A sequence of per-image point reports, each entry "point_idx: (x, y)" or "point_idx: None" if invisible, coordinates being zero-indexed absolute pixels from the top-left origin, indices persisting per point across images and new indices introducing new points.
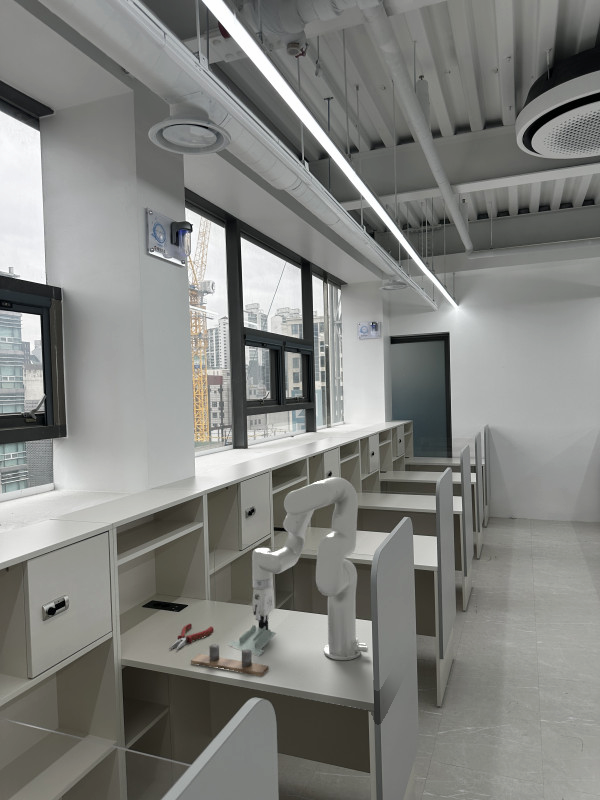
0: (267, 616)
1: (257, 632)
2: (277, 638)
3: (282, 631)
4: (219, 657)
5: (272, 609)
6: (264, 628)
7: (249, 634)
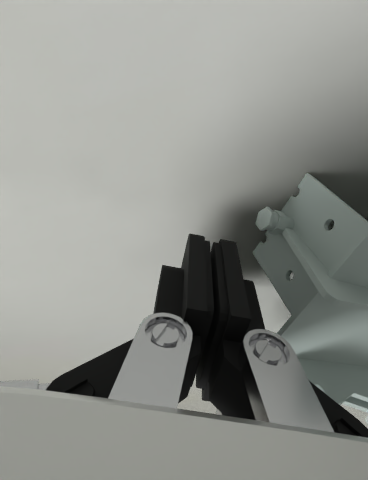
0: (178, 366)
1: (352, 325)
2: (278, 92)
3: (69, 76)
4: None
5: (72, 422)
6: (341, 288)
7: (363, 372)
